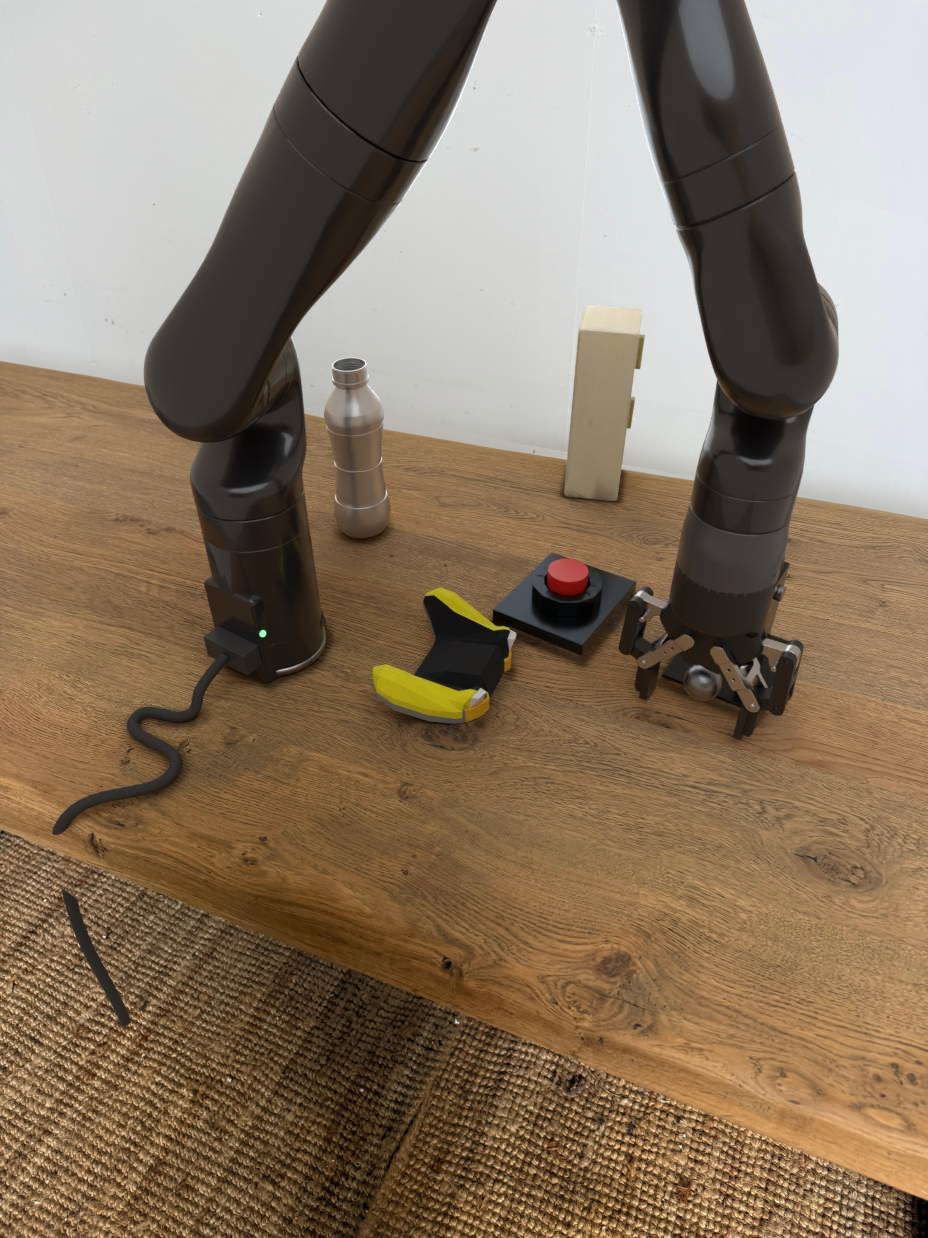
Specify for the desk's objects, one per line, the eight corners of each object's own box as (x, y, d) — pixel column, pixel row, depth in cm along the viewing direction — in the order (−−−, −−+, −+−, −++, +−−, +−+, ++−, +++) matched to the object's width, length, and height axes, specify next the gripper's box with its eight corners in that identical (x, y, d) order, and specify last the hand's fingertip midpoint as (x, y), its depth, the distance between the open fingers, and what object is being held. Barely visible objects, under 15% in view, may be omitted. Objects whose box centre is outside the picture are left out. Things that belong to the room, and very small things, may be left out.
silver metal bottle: (326, 538, 99) (304, 372, 87) (353, 509, 104) (337, 348, 92) (376, 550, 97) (361, 381, 85) (401, 520, 102) (391, 356, 90)
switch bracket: (755, 721, 76) (785, 617, 69) (660, 683, 80) (679, 581, 73) (793, 652, 83) (824, 551, 76) (704, 620, 87) (725, 521, 80)
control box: (580, 662, 82) (584, 630, 80) (492, 626, 87) (492, 595, 84) (634, 598, 90) (638, 567, 88) (550, 568, 95) (552, 537, 92)
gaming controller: (365, 721, 77) (470, 752, 74) (360, 675, 73) (470, 706, 70) (432, 622, 87) (526, 645, 85) (431, 578, 84) (528, 600, 81)
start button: (575, 601, 84) (576, 586, 83) (539, 587, 86) (540, 573, 85) (594, 580, 87) (595, 566, 86) (559, 568, 88) (560, 553, 87)
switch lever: (714, 711, 73) (712, 699, 71) (678, 697, 75) (675, 684, 72) (773, 583, 77) (774, 567, 74) (738, 571, 78) (737, 555, 75)
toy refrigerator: (623, 503, 105) (645, 333, 92) (563, 497, 106) (576, 328, 93) (627, 471, 111) (648, 307, 98) (570, 466, 112) (583, 303, 99)
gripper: (619, 554, 65) (599, 707, 75) (809, 619, 59) (759, 776, 69) (659, 509, 70) (635, 659, 80) (839, 565, 64) (787, 720, 74)
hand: (692, 713), depth 75 cm, fingers open, 8 cm apart
